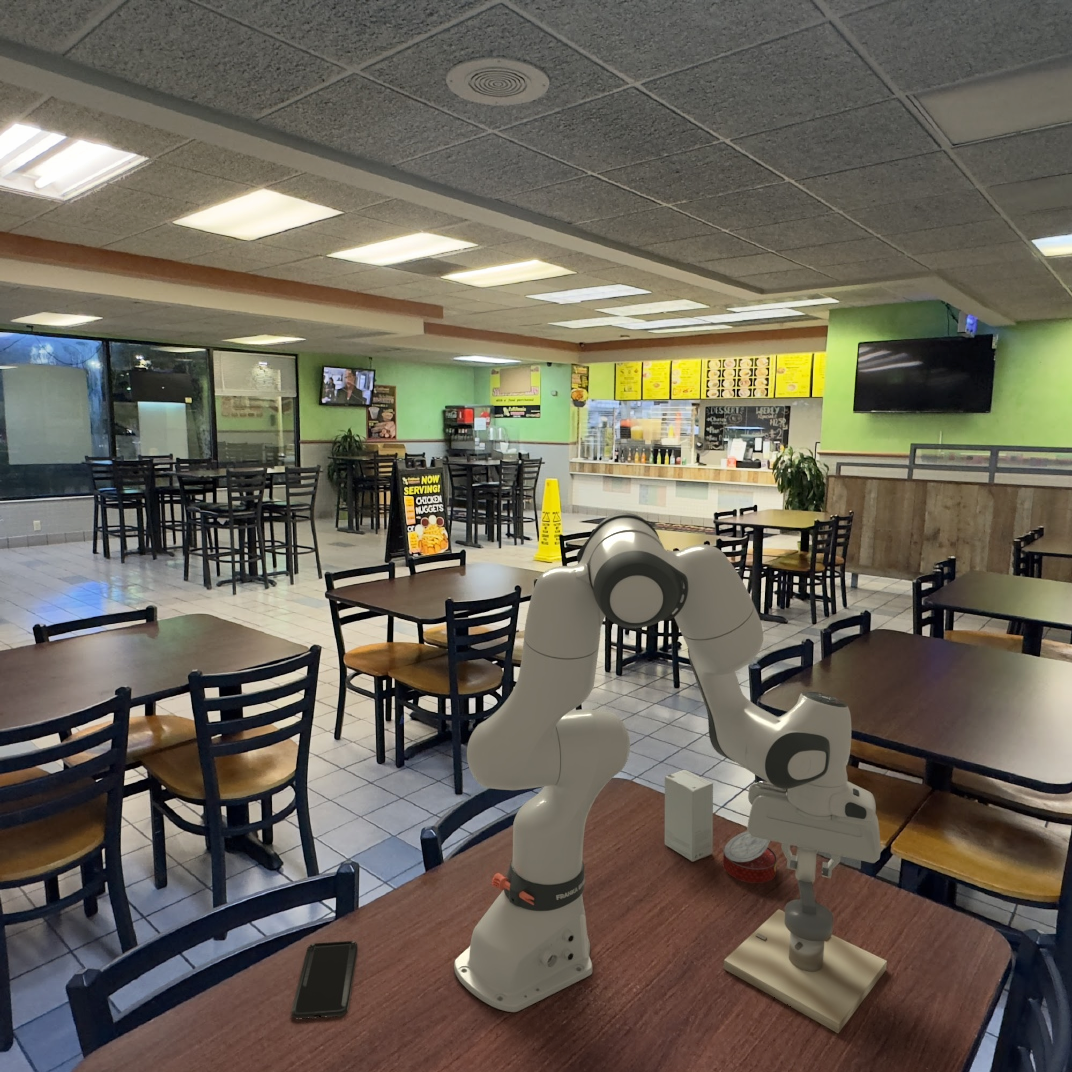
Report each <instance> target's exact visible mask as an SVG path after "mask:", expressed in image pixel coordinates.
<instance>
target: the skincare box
mask: <svg viewBox="0 0 1072 1072" xmlns="http://www.w3.org/2000/svg"><path fill="white" fill-rule="evenodd" d="M713 827H714V783H713V782H712V781H709V780H707V779H705V778H703V777H701V776H698V775H696V774H694V773H692V772H691V771H688V770H686V769H683V770H680V771H677V772H673V773H671V774H668V775H666V776H664V845H665V846H666V847H668V848H670V849H672V850H673V851H675V852H676V853H678V854H679V855H681V856H682V857H684V858H686V859H687V860H689V861H690V862H696V861H698V860H700V859H703V858H706V857H708V856H711V855H713V852H714V850H713V847H714V846H713V843H714V832H713V831H714V828H713Z"/></svg>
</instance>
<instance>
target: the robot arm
mask: <svg viewBox="0 0 1072 1072" xmlns="http://www.w3.org/2000/svg"><path fill="white" fill-rule="evenodd" d="M576 559H577V564H576V565H572V566H571V565H570V566H569V565H561V566H555V567H552V568H549V569H547V570H545V571H543V572H542V573H541V574H540V575H539V577H538V578H537V580H536V582H535V584H534V588H533V589H532V592H531V597H530V600H529V604H528V609H527V613H526V620H525V626H524V634H523V644H522V645H523V646H522V653H521V662H520V667H519V673H518V677H517V681H516V683H515V686H514V687H513V688H512V691H511V692H510V695H509V696H508V697H507V699H506V700H505V701H504V703H503V704H502V705H501V706H500V707H499V708H498V709H497V710H496V711H495V712H494V713H493V714H492V715H490V716H489V717H488V718H487V719H486V720H484V721H482V722H480V723H478V724H477V726H476V727H475V728H474V729H473V731H472V733H471V735H470V736H469V738H468V739H469V740H468V743H467V747H466V748H467V749H466V759H467V760H466V761H467V765H468V769H469V770H470V773H471V775H472V776H473V779H475V781H476V782H477V783H478V784H479V785H480V786H481V787H483V788H485V789H493V790H494V789H495V790H503V791H504V790H505V791H518V790H527V789H535V788H541V787H542V789H541V790H540V791H539V792H538V793H537V794H536V795H534V796H533V797H532V798H530V799H529V800H527V801H526V802H525V803H524V804H522V806H521V807H520V808H519V809H518V812H517V813H516V815H515V817H514V821H513V823H512V858H511V861H510V863H509V867H508V869H507V872H506V877H505V876H504V875H503V874H502V873H500V872H497V873H495V874H494V875H493V878H492V879H491V884H492V886H493V887H495V888H498V889H499V891H501V893H500V894H499V895H498V896H497V897H496V898H495V900H494V902H493V903H492V904H491V906H490V907H489V908H488V910H487V911H486V912H485V914H484V915H483V916H482V918H481V919H480V920H479V921H478V922H477V924H476V925H475V927H474V928H473V930H472V931H473V932H472V934H471V939H470V945H469V946H468V947H467V948H466V949H465V950H464V951H463V952H462V953H460V955H458V957H456V959H455V960H454V966H453V968H454V973H455V976H456V977H457V979H458V980H459V982H460V983H461V984H462V986H464V987H465V988H466V990H468V992H470V993H471V994H472V995H474V996H475V997H476V998H478V999H479V1000H480V1001H482V1002H484V1003H485V1004H487V1005H489V1006H491V1007H492V1008H495V1009H497V1010H501V1011H505V1012H510V1013H517V1012H520V1011H521V1010H524V1009H526V1008H528V1007H530V1006H532V1005H533V1004H535V1003H538V1002H539V1001H542V1000H544V999H546V998H547V997H549V996H552V995H554V994H556V993H557V992H560V991H562V990H563V989H565V988H568V987H570V986H572V985H573V984H576V983H577V982H579V981H581V980H583V979H586V978H587V977H590V976H591V975H592V974H593V963H592V960H591V958H590V957H591V956H590V952H591V943H590V938H589V936H588V929H587V918H586V911H585V906H584V900H583V894H584V890H585V883H586V882H585V881H586V873H585V863H584V861H583V852H584V851H583V850H584V849H583V848H584V838H585V828H586V827H585V826H586V822H587V818H588V816H589V813H590V811H591V808H592V806H593V804H594V802H595V800H596V799H597V798H598V796H599V794H600V792H601V791H602V790H603V788H605V786H606V785H607V784H608V783H609V782H610V781H611V779H613V778H614V777H615V776H617V775H618V774H619V773H620V772H621V771H623V769H624V768H625V766H626V764H627V762H628V760H629V756H630V749H631V741H630V736H629V732H628V730H627V727H626V725H625V724H624V723H623V721H622V720H621V718H620V717H619V716H618V715H617V714H616V713H614V712H613V711H605V710H597V709H588V708H584V709H583V708H582V709H577V708H578V707H579V706H581V705H582V704H583V703H584V702H585V701H586V700H587V699H588V697H589V696H590V694H591V693H592V691H593V689H594V685H595V682H596V681H595V679H596V673H597V666H598V665H597V664H598V657H599V656H598V655H599V649H600V641H601V628H602V625H603V622H604V621H605V618H607V619H608V620H609V621H610V622H612V623H613V624H615V625H617V626H619V627H622V628H625V629H641V628H647V627H651V626H653V625H656V624H658V623H659V622H662V621H670V620H672V619H674V620H675V622H676V625H677V627H678V629H679V631H680V633H681V635H682V637H683V640H684V642H685V644H686V647H687V654H688V659H689V662H690V663H689V664H690V666H691V669H692V671H693V675H694V677H695V681H696V683H697V686H698V690H699V692H700V695H701V697H702V699H703V702H704V706H705V708H706V714H707V719H708V721H707V723H708V725H707V726H708V735H709V741H710V743H711V746H712V748H713V750H715V752H716V753H717V754H719V755H720V756H721V757H723V758H726V759H728V760H730V761H732V762H734V763H736V764H737V765H739V766H741V767H743V768H744V769H746V770H747V771H749V773H752V774H753V775H755V776H757V777H759V778H761V779H762V780H759V781H758V782H755V783H753V784H751V785H750V786H749V788H748V797H747V798H748V801H749V803H750V805H751V807H750V811H749V816H748V821H747V830H748V831H749V833H750V834H751V836H753V837H757V838H762V839H766V840H771V841H772V842H776V843H780V844H781V848H780V849H781V851H782V853H783V854H784V856H785V858H786V859H787V860H786V869H788V870H793V871H796V864H797V855H796V854H795V855H794V854H793V853H792V852H791V846H793V847H794V846H795V847H802V848H807V849H811V850H816V851H817V852H820V853H826V854H830V859H829V861H828V862H826V861H822V863H821V864H822V865H821V877H822V878H828V879H832V874H833V873H832V871H833V870H834V869H835V868H836V867H837V866H838V864H840V863H841V858H842V857H844V858H849V859H853V860H857V861H862V862H867V863H870V864H875V863H876V862H877V861H879V860H880V858H881V834H880V825H879V820H878V819H879V818H878V816H877V814H876V810H877V807H876V805H877V804H876V800H875V797H874V794H873V793H871V791H868V790H866V789H864V788H863V787H860V786H858V785H856V784H854V783H852V782H850V781H848V773H847V763H848V759H849V758H850V755H851V748H852V747H851V746H852V716H851V711H850V707H849V706H848V705H847V704H846V703H845V702H844V701H843V700H840V699H838V698H837V697H834V696H832V695H829V694H825V693H822V692H818V691H803V692H801V693H800V694H799V697H798V699H797V702H796V704H795V705H794V706H793V707H792V708H790V710H788V711H786V712H785V713H783V714H782V715H781V716H777V715H774V714H772V713H771V712H769V711H766V710H765V709H763V708H761V707H759V706H758V705H757V704H755V703H753V702H752V701H751V700H749V699H748V698H747V697H746V696H745V695H744V693H743V692H742V687H741V685H740V683H739V680H738V676H737V674H736V672H737V671H740V670H741V669H743V668H744V667H746V666H747V665H748V664H750V663H751V662H752V661H753V660H754V659H755V657H756V656H757V655H758V653H759V652H760V650H761V648H762V645H763V642H764V632H763V626H762V622H761V618H760V616H759V613H758V611H757V608H756V606H755V603H754V602H753V599H752V597H751V596H750V593H749V590H748V589H747V587H746V585H745V584H744V581H743V579H742V578H741V576H740V575H739V573H738V572H737V570H736V569H735V566H734V565H733V564H732V562H731V561H730V560H729V559H728V557H727V556H726V554H725V553H724V552H723V551H722V550H720V549H719V548H718V547H716V546H713V545H711V544H695V545H690V546H688V547H685V548H682V549H680V550H670V549H665V547H664V544H663V543H662V541H661V539H660V536H659V535H658V532H657V530H656V529H655V527H654V526H653V525H652V524H651V523H649V522H648V521H647V520H646V519H645V518H643V517H641V516H639V515H638V514H635V513H631V512H617V513H614V514H611V515H609V516H607V517H605V518H604V519H603V520H602V521H600V522H599V524H597V526H595V528H594V529H593V530H592V532H591V534H590V536H589V537H588V538H587V540H586V541H585V542H584V544H583V545H582V546H581V548H579V550H578V551H577V554H576ZM747 830H746V831H747ZM771 841H770V842H771Z"/></svg>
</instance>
